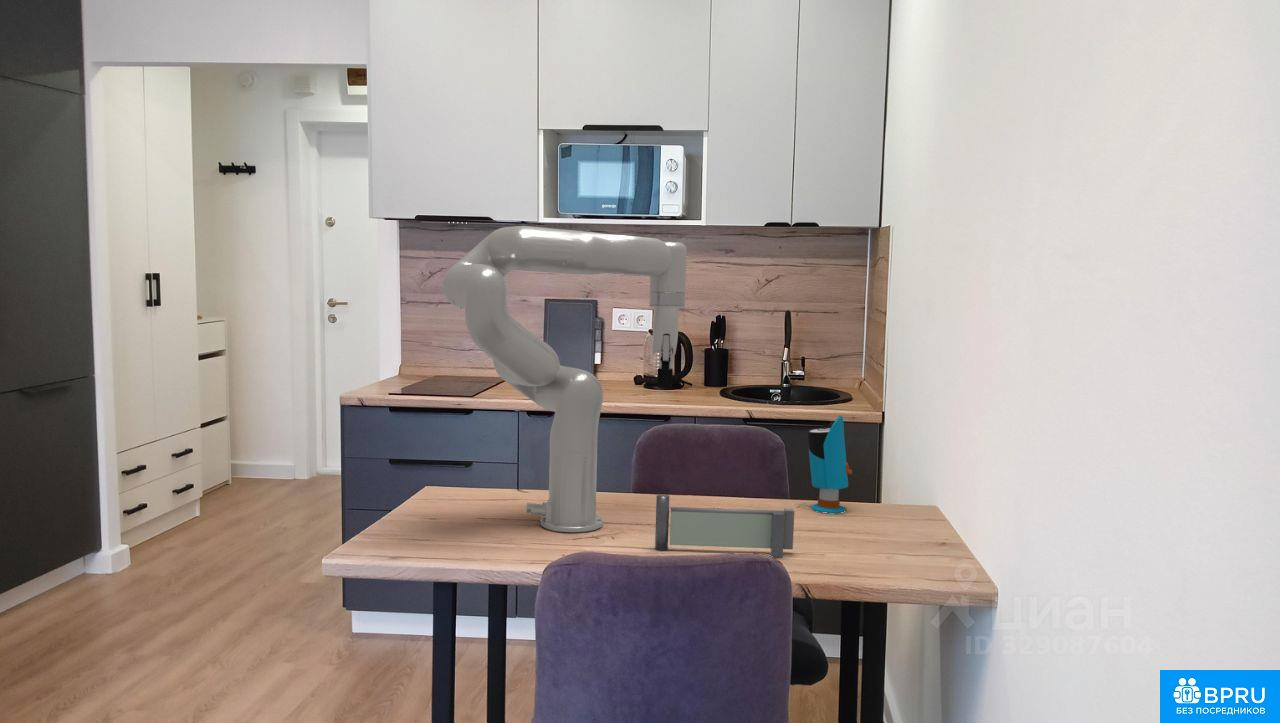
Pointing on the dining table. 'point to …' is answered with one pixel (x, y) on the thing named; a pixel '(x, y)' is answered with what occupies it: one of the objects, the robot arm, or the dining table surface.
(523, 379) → the robot arm
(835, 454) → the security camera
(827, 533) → the dining table surface
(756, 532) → the gate
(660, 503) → the gate frame
